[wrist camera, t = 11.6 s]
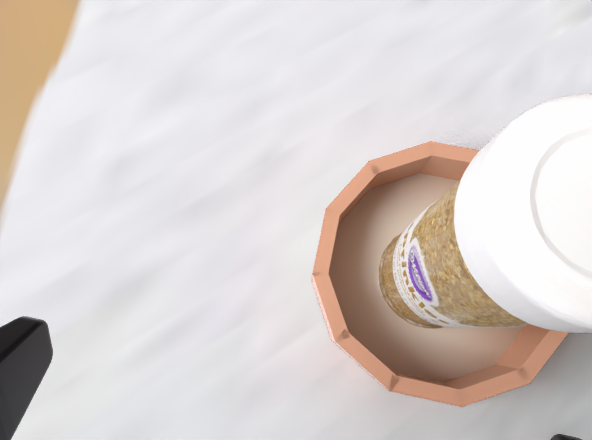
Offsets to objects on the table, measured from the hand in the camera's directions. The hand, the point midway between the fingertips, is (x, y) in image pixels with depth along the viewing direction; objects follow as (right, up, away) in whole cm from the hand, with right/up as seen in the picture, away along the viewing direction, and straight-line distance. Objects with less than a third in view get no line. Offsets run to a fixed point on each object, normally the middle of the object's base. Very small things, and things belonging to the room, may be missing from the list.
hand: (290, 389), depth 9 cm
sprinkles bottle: (+6, 0, +13) cm, 15 cm away
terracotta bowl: (+6, 0, +14) cm, 15 cm away
